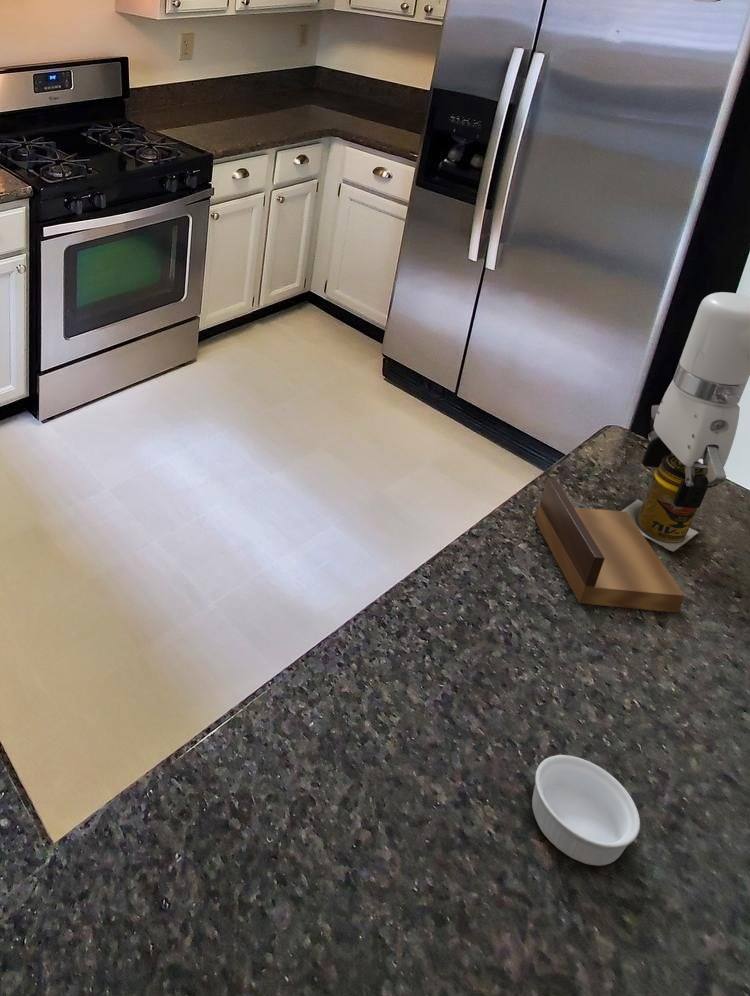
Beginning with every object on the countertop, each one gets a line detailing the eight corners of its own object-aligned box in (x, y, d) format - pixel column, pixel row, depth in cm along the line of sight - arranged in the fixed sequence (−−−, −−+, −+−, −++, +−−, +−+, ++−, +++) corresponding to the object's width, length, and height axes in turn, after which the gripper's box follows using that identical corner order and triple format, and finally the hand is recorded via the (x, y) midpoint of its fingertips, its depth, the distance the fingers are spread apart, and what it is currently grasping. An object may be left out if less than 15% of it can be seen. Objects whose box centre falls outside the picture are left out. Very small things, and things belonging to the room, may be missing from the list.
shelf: (620, 527, 117) (636, 484, 114) (678, 612, 103) (697, 566, 100) (534, 520, 119) (547, 477, 115) (579, 603, 105) (595, 557, 101)
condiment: (672, 552, 113) (699, 485, 107) (611, 517, 119) (634, 452, 114) (698, 533, 116) (725, 467, 111) (637, 500, 123) (660, 436, 117)
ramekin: (616, 797, 82) (628, 770, 80) (638, 888, 74) (651, 860, 72) (520, 769, 84) (530, 742, 83) (532, 853, 77) (542, 826, 75)
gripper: (780, 421, 99) (733, 529, 106) (702, 352, 114) (666, 450, 122) (714, 416, 100) (672, 524, 107) (646, 348, 115) (613, 447, 123)
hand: (669, 484), depth 114 cm, fingers open, 8 cm apart
